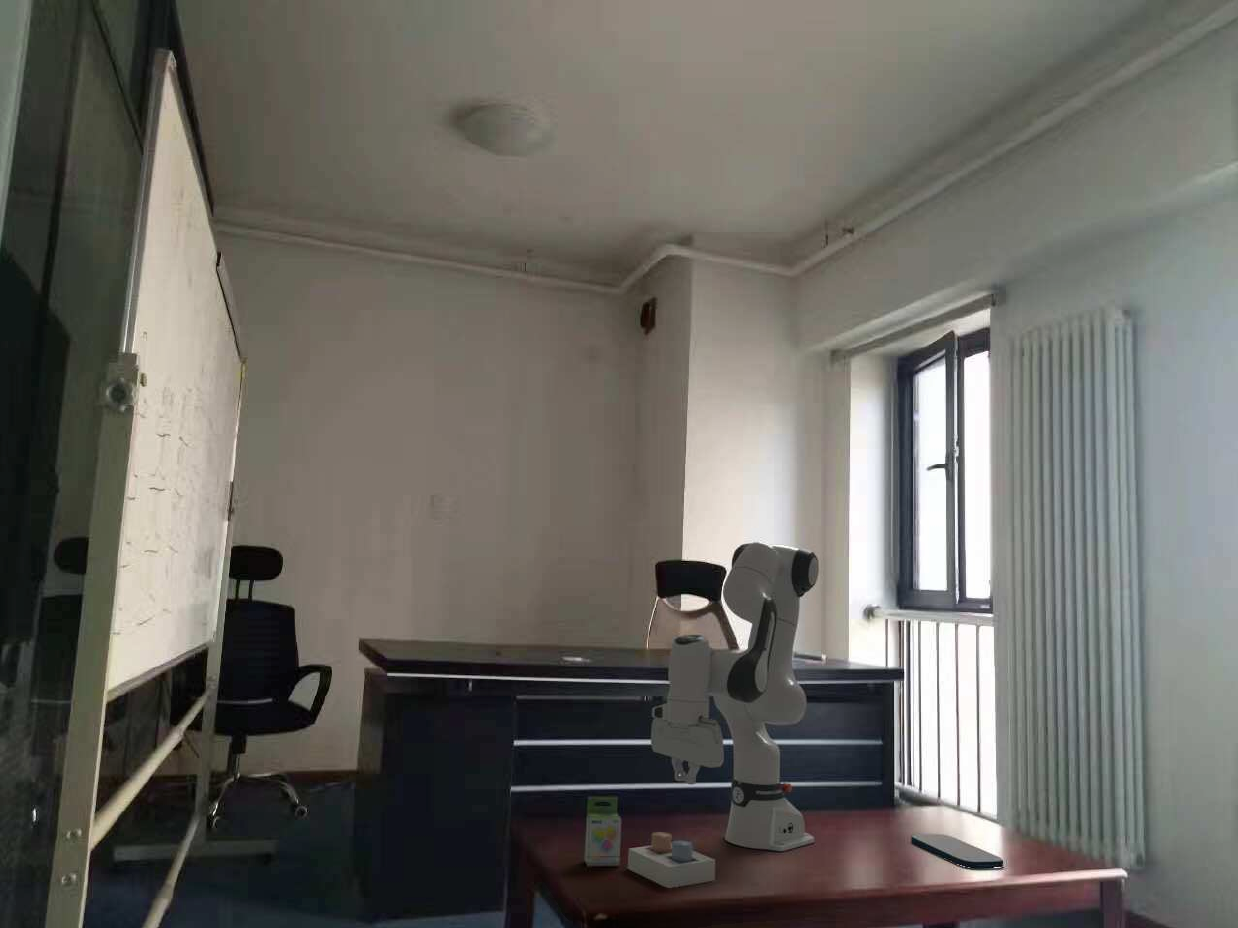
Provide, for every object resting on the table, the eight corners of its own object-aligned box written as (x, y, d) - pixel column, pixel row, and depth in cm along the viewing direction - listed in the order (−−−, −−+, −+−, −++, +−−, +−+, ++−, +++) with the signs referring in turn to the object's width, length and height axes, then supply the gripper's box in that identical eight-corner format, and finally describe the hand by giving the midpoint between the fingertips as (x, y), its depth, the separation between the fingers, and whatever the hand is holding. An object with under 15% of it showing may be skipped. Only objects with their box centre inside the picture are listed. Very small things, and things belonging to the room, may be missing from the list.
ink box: (587, 867, 186) (591, 800, 188) (583, 861, 189) (587, 796, 191) (619, 866, 187) (622, 800, 189) (615, 861, 191) (618, 796, 193)
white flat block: (672, 861, 193) (673, 842, 193) (714, 880, 181) (715, 859, 182) (627, 868, 186) (628, 848, 187) (668, 888, 174) (669, 866, 175)
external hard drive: (905, 842, 221) (905, 834, 222) (945, 841, 224) (945, 833, 224) (966, 871, 199) (966, 862, 199) (1009, 870, 202) (1009, 861, 202)
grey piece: (683, 859, 184) (684, 839, 185) (696, 865, 181) (696, 844, 181) (667, 862, 182) (668, 841, 182) (680, 867, 178) (680, 847, 179)
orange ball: (662, 850, 190) (663, 831, 190) (674, 856, 186) (675, 836, 187) (647, 853, 187) (648, 833, 188) (659, 858, 184) (659, 838, 185)
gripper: (732, 720, 179) (729, 791, 177) (670, 706, 196) (667, 771, 194) (708, 721, 175) (705, 793, 173) (647, 707, 192) (644, 773, 190)
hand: (685, 782), depth 184 cm, fingers closed
